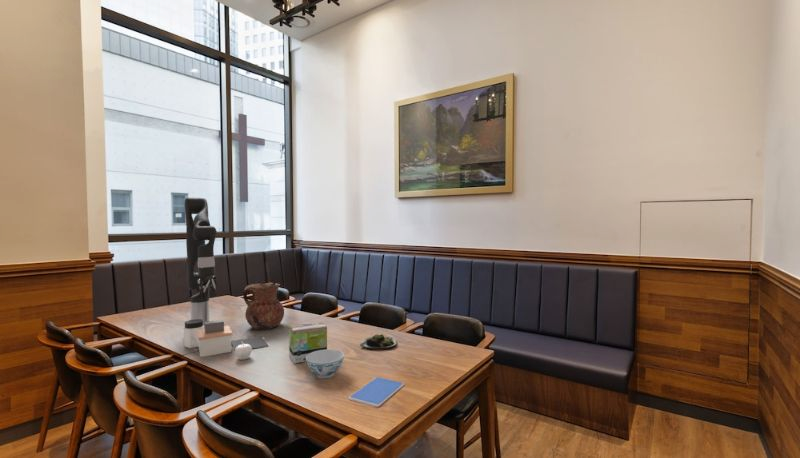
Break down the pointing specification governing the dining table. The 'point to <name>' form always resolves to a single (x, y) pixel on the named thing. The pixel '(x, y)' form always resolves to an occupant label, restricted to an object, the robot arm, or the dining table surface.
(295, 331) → the tea box
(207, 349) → the storage box
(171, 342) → the dining table surface
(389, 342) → the salad plate
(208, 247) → the robot arm
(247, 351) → the plain white apple
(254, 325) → the jug
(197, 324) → the jar
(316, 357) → the chinaware
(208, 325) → the lid
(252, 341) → the mat
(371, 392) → the tablet computer
